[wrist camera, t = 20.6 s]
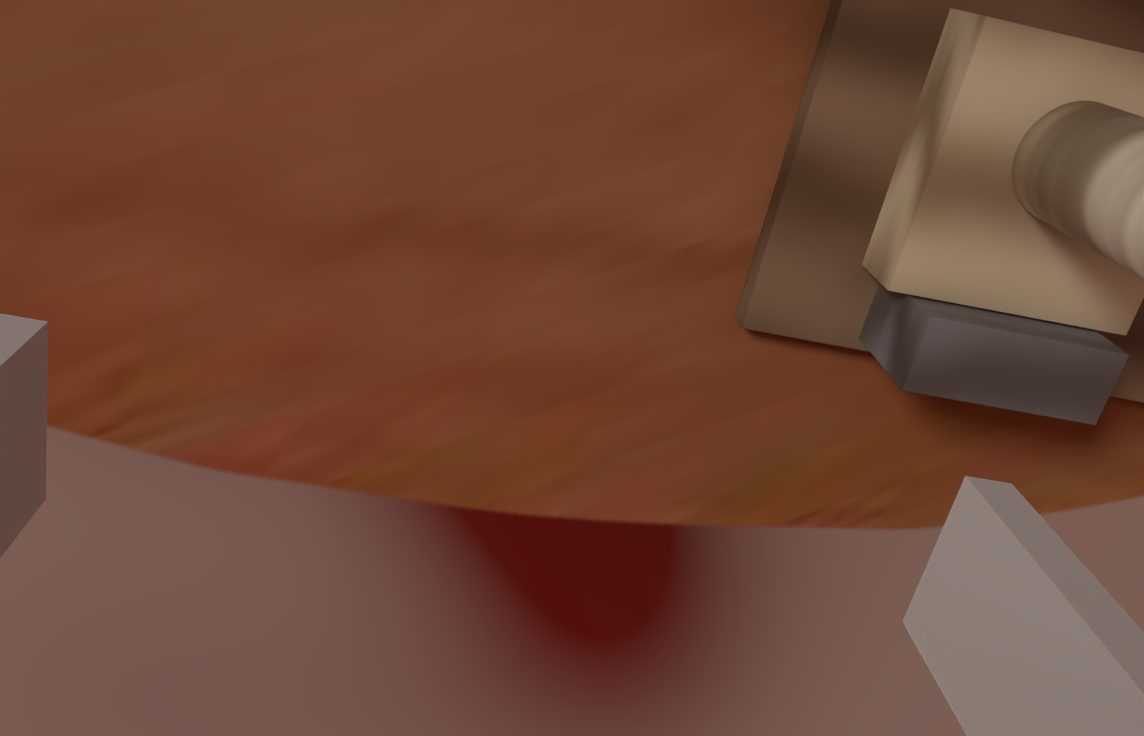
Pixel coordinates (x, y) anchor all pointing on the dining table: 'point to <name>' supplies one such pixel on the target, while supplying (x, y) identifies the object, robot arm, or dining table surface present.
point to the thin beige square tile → (1000, 178)
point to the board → (854, 200)
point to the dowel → (1087, 178)
